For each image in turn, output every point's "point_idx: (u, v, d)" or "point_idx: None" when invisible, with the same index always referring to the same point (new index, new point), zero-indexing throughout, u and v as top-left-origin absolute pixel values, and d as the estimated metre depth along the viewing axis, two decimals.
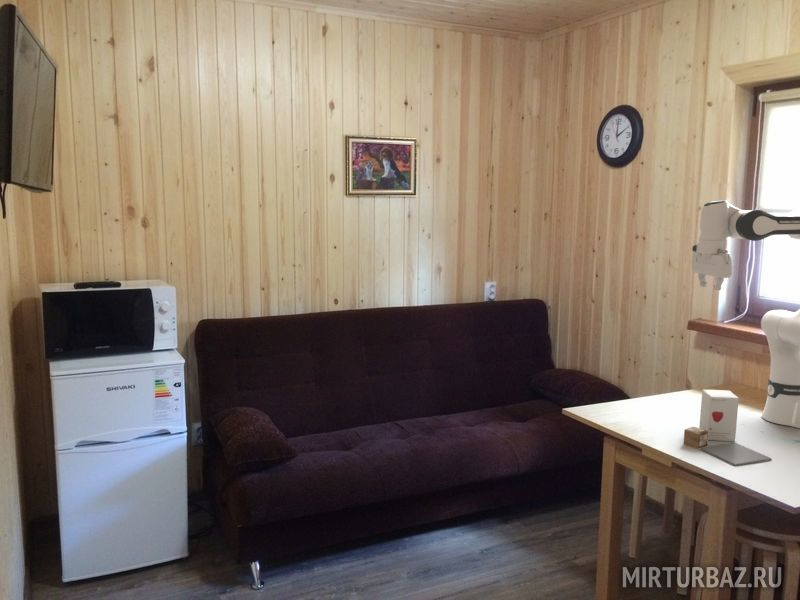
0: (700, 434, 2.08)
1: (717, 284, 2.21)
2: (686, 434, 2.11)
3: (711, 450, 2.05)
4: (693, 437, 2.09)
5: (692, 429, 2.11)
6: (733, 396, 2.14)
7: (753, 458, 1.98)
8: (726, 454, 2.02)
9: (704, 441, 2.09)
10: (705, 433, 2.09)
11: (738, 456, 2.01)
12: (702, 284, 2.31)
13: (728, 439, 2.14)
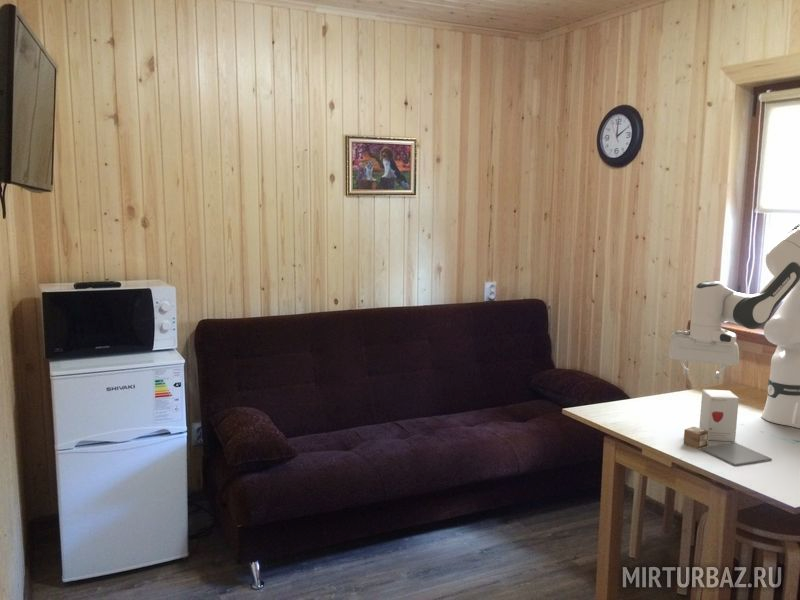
0: (700, 434, 2.08)
1: None
2: (686, 434, 2.11)
3: (711, 450, 2.05)
4: (692, 437, 2.09)
5: (692, 429, 2.11)
6: (733, 396, 2.14)
7: (753, 458, 1.98)
8: (726, 454, 2.02)
9: (704, 441, 2.09)
10: (705, 433, 2.09)
11: (738, 456, 2.01)
12: None
13: (728, 439, 2.14)
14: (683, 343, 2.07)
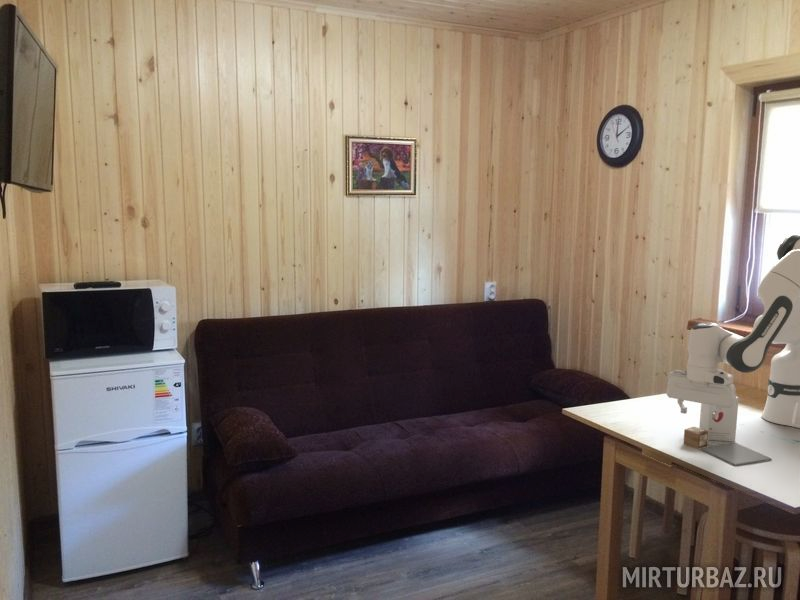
0: (700, 434, 2.08)
1: None
2: (686, 434, 2.11)
3: (711, 450, 2.05)
4: (692, 437, 2.09)
5: (692, 429, 2.11)
6: None
7: (753, 458, 1.98)
8: (726, 454, 2.02)
9: (704, 441, 2.09)
10: (705, 433, 2.09)
11: (738, 456, 2.01)
12: None
13: (728, 439, 2.14)
14: (680, 382, 2.11)
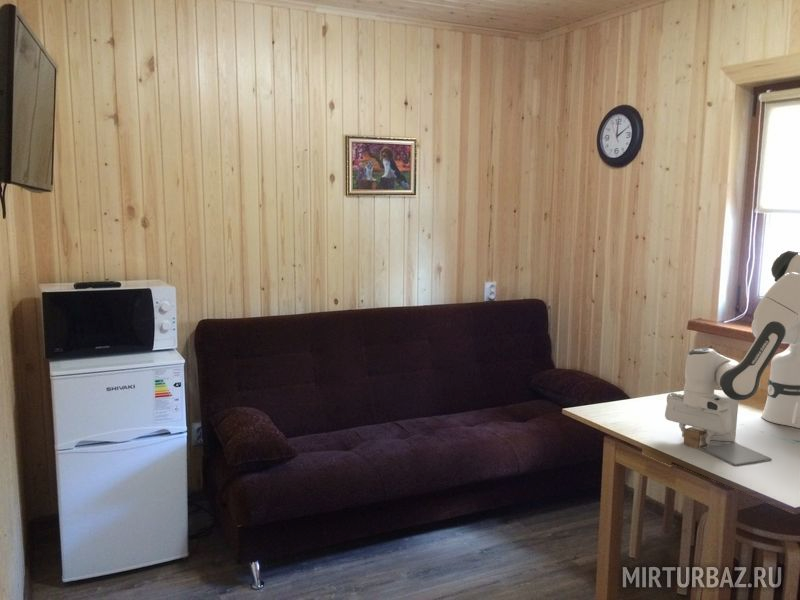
0: (700, 434, 2.08)
1: None
2: (686, 434, 2.11)
3: (711, 450, 2.05)
4: (692, 437, 2.09)
5: (692, 429, 2.11)
6: None
7: (753, 458, 1.98)
8: (726, 454, 2.02)
9: None
10: (705, 433, 2.09)
11: (738, 456, 2.01)
12: None
13: (728, 439, 2.14)
14: (677, 406, 2.13)
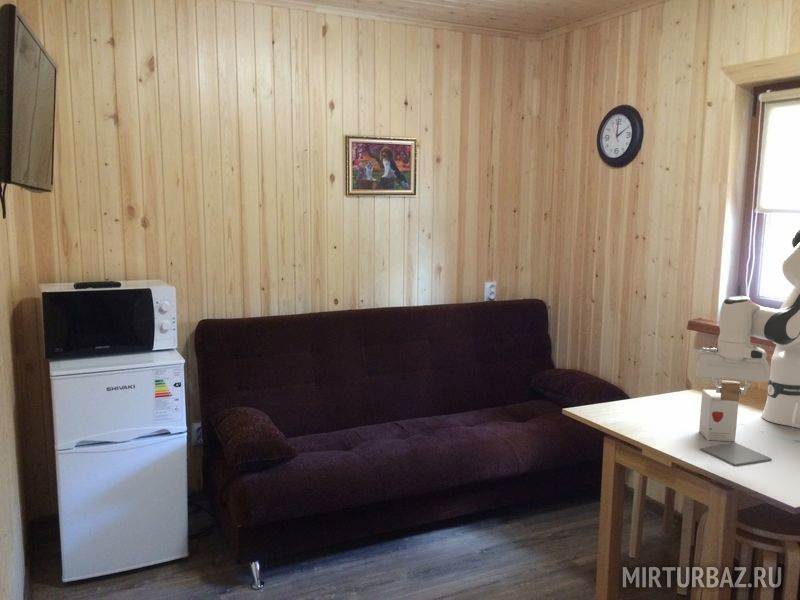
0: (739, 386, 1.99)
1: None
2: (724, 388, 2.00)
3: (711, 450, 2.05)
4: (732, 390, 1.99)
5: (727, 382, 2.01)
6: None
7: (753, 458, 1.98)
8: (726, 454, 2.02)
9: None
10: None
11: (738, 456, 2.01)
12: (740, 391, 2.02)
13: (728, 439, 2.14)
14: (711, 361, 2.01)
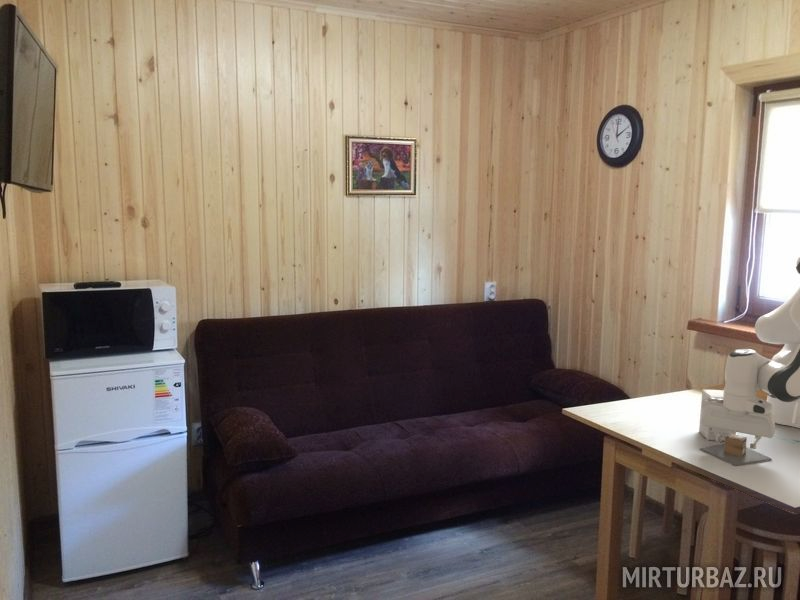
0: (743, 441, 2.00)
1: None
2: (727, 442, 2.02)
3: (711, 450, 2.05)
4: (735, 445, 2.00)
5: (732, 437, 2.02)
6: None
7: (753, 458, 1.98)
8: (726, 454, 2.02)
9: (745, 448, 2.02)
10: (745, 439, 2.02)
11: None
12: None
13: None
14: (716, 411, 2.03)
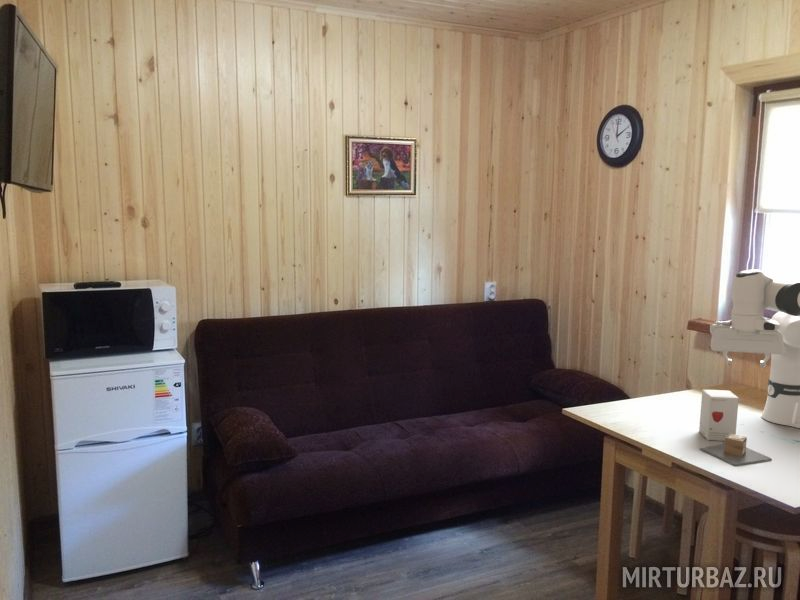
0: (743, 441, 2.00)
1: None
2: (727, 442, 2.02)
3: (711, 450, 2.05)
4: (735, 445, 2.00)
5: (732, 437, 2.02)
6: (733, 396, 2.14)
7: (753, 458, 1.98)
8: (726, 454, 2.02)
9: (745, 448, 2.02)
10: (745, 439, 2.02)
11: None
12: (760, 363, 2.04)
13: None
14: (725, 334, 2.05)
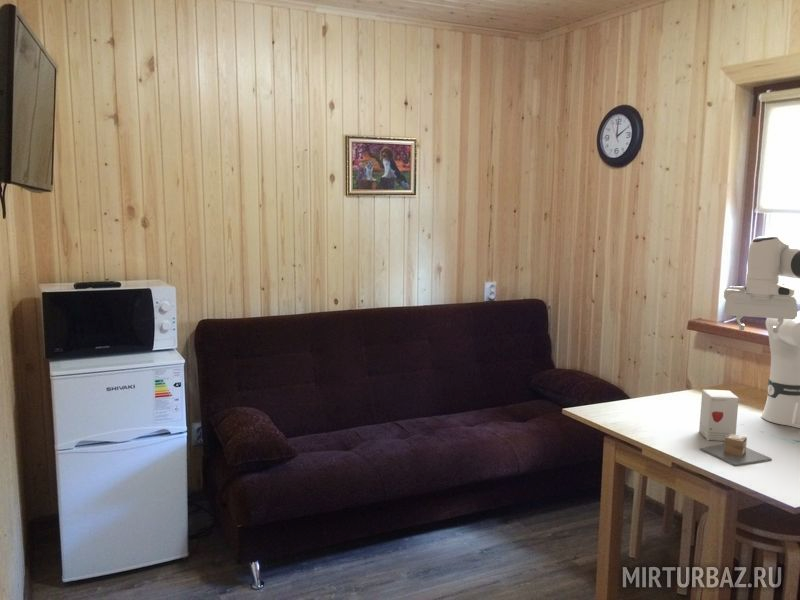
0: (743, 441, 2.00)
1: None
2: (727, 442, 2.02)
3: (711, 450, 2.05)
4: (735, 445, 2.00)
5: (732, 437, 2.02)
6: (733, 396, 2.14)
7: (753, 458, 1.98)
8: (726, 454, 2.02)
9: (745, 448, 2.02)
10: (745, 439, 2.02)
11: None
12: None
13: None
14: (739, 298, 2.07)
